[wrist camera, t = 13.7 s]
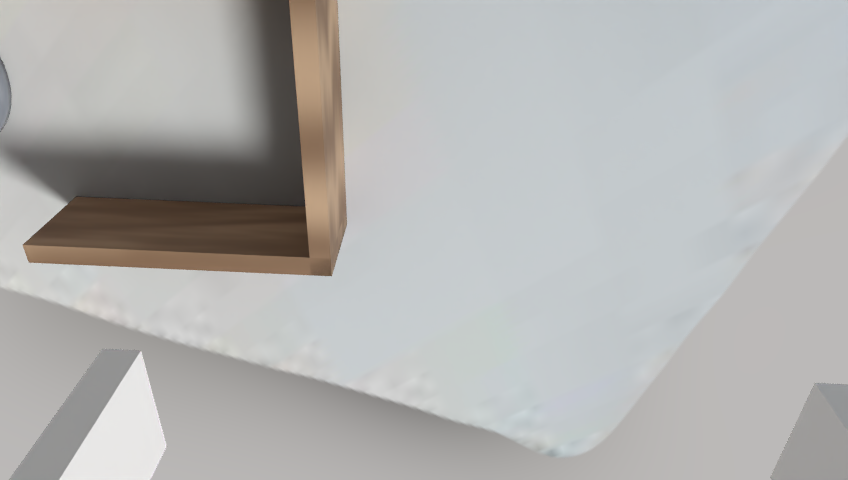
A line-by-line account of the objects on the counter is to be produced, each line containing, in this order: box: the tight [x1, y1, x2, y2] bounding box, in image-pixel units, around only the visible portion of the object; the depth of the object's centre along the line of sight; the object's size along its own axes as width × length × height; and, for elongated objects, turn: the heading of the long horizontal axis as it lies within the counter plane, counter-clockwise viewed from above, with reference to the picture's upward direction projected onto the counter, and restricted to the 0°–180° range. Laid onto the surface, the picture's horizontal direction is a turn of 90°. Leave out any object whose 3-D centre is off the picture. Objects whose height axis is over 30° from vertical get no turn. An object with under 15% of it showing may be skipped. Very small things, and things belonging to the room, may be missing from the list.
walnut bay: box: [23, 0, 347, 276], centre depth 35 cm, size 16×18×6 cm
